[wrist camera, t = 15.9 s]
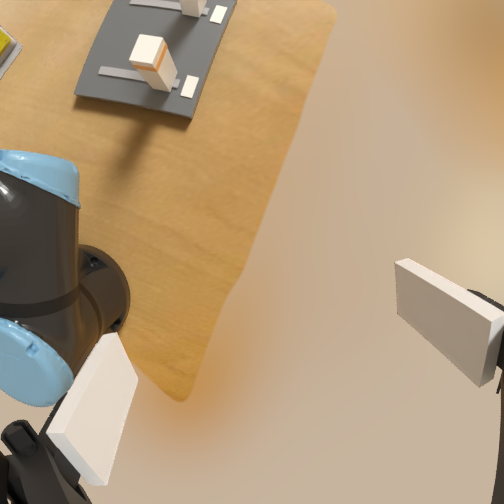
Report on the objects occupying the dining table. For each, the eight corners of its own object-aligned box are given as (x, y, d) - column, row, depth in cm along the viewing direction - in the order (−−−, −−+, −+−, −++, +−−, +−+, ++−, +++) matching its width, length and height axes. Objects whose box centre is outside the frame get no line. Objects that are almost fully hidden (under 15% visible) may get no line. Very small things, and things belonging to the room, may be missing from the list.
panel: (236, 2, 36) (237, -5, 34) (192, 119, 40) (190, 116, 38) (127, -14, 33) (124, -21, 31) (79, 96, 37) (72, 93, 35)
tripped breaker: (178, 71, 36) (163, 37, 24) (170, 92, 37) (152, 64, 25) (159, 68, 36) (139, 33, 24) (152, 88, 36) (128, 60, 25)
